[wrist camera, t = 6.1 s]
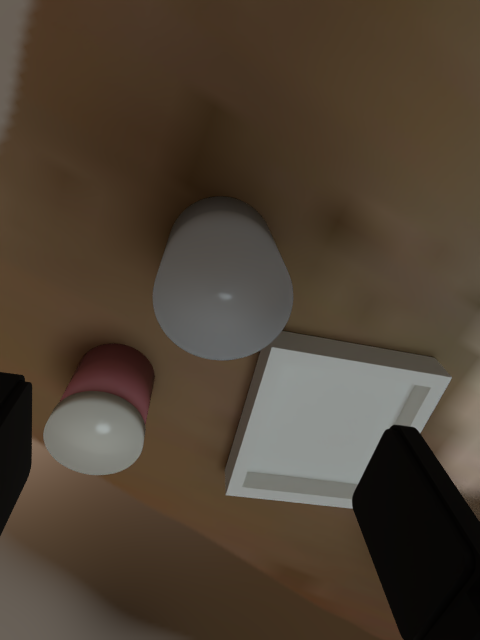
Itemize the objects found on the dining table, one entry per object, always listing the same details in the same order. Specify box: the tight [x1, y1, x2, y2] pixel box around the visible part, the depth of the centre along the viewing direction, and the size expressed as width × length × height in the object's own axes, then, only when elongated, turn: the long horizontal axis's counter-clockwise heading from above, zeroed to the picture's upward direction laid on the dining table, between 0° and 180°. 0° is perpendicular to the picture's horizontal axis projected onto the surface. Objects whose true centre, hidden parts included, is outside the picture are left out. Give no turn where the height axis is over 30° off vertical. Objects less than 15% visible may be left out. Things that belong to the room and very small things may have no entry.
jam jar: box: [43, 344, 155, 475], centre depth 25 cm, size 5×5×6 cm
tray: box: [225, 331, 452, 509], centre depth 29 cm, size 13×12×2 cm
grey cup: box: [153, 196, 293, 360], centre depth 21 cm, size 6×6×7 cm
